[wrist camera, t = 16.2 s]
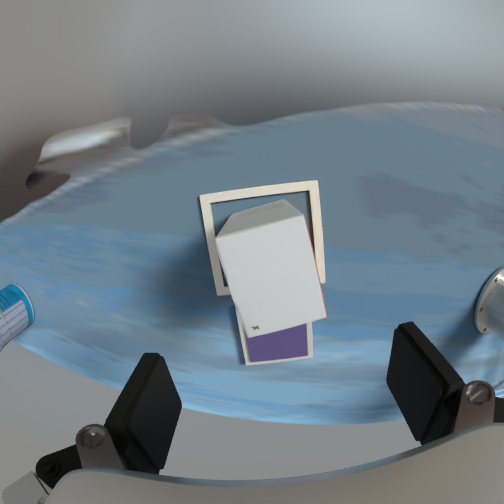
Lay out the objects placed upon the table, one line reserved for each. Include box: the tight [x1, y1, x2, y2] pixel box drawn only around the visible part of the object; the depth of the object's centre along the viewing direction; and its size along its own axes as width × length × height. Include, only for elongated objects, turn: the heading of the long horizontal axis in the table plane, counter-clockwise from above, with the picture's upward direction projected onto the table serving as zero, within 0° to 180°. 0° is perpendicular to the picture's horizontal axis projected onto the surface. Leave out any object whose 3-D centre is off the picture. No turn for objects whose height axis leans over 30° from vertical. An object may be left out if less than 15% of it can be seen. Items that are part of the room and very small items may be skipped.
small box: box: [214, 199, 327, 338], centre depth 25 cm, size 8×6×13 cm
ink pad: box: [235, 306, 313, 365], centre depth 34 cm, size 9×9×1 cm
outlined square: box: [199, 180, 325, 296], centre depth 31 cm, size 13×12×1 cm
